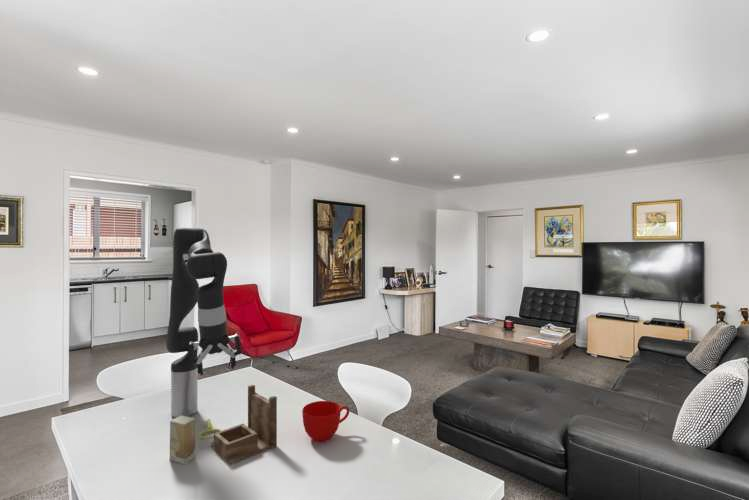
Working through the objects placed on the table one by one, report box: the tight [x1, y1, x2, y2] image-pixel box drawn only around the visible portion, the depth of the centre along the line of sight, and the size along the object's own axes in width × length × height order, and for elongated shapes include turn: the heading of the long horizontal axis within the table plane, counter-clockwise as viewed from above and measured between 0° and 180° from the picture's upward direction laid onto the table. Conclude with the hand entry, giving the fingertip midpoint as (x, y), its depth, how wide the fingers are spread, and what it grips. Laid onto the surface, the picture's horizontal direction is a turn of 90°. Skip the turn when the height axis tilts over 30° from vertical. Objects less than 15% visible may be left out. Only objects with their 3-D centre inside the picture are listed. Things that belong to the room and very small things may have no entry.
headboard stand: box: [210, 384, 278, 465], centre depth 125 cm, size 17×15×16 cm
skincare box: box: [169, 415, 197, 465], centre depth 117 cm, size 6×4×12 cm
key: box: [198, 418, 222, 440], centre depth 134 cm, size 7×12×2 cm, turn 45°
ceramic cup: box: [301, 400, 350, 443], centre depth 131 cm, size 13×17×10 cm
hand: (217, 370), depth 115 cm, fingers open, 8 cm apart
